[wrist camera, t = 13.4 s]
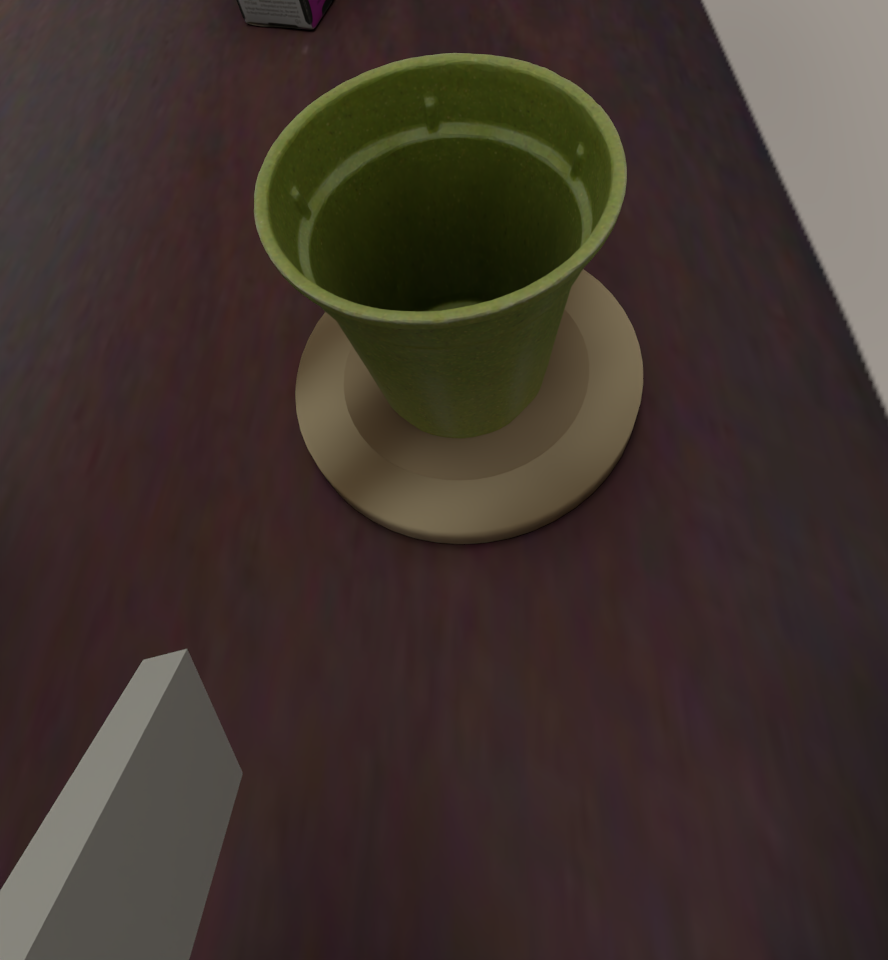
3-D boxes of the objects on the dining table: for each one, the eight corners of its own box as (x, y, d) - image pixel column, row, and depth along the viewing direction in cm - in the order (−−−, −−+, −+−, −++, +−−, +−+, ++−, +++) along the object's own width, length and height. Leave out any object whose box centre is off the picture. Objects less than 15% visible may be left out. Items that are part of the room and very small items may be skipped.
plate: (240, 444, 25) (226, 428, 24) (420, 223, 29) (415, 200, 28) (531, 613, 21) (531, 603, 20) (695, 329, 25) (703, 307, 24)
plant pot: (571, 257, 25) (590, 26, 18) (614, 467, 21) (665, 288, 14) (342, 288, 26) (263, 80, 18) (341, 498, 22) (240, 345, 14)
